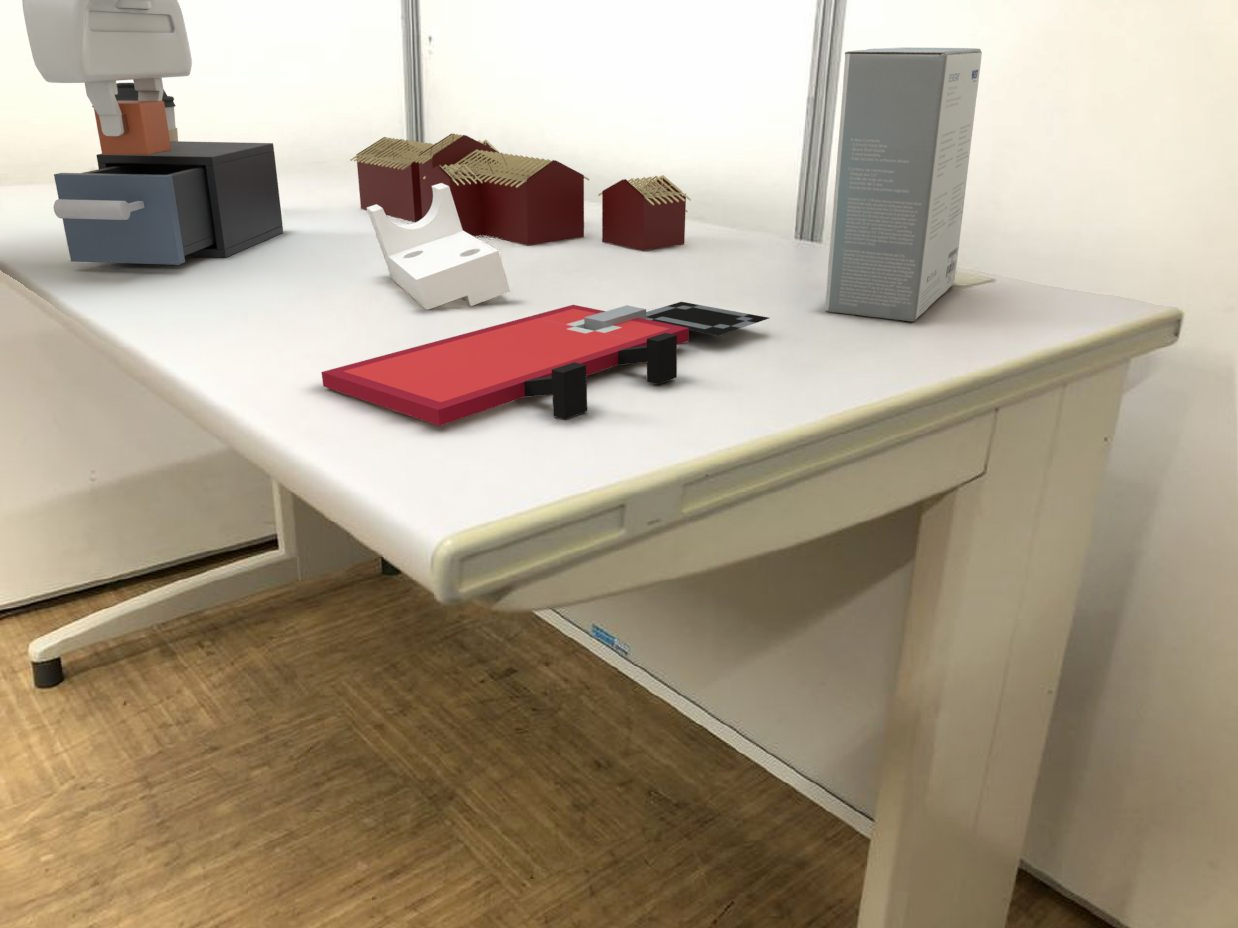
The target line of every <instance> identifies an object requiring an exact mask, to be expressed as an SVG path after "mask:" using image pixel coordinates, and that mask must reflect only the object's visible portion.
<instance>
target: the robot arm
mask: <svg viewBox="0 0 1238 928" xmlns="http://www.w3.org/2000/svg"><path fill="white" fill-rule="evenodd" d="M21 3H22V11H23V18H24V24H25V29H26V33H27V38H28V42H29V47H30V51H31V56H32V59H33V61H34V65H35V68H36V69H37V71H38V72H39V74H40V75H41V77H42V78H43V79H44V81H46V82H47V83H52V84H53V83H54V84H55V83H56V84H83V83H84V88H85V93H86V97H87V98H88V101H90V103H91V105H93V107H94V108H93V107H92V108H93V110H94V109H95V110H96V112H97V114H98V115H99V118H100V123H101V129H102V132H103V134H104V135H106V136H122V135H127V134H128V133H129V126H128V120H127V114H122V113H121V110H120V108H119V105H118V103H117V100H116V98H115V95H116V94H118V91H117V84H116V83H117V81H133V83H134V87H135V90H136V91H138V101H162V97H163V92H164V91H165V89H164V85H163V78H164V79H166V78H181V77H189V76H190V75H191V71H192V66H193V59H192V53H191V47H190V42H189V38H188V33H187V28H186V24H185V23H186V22H185V19H184V16H183V15H184V14H183V12H182V9H181V6H180V2H179V1H178V0H21ZM163 89H164V90H163Z"/></svg>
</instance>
